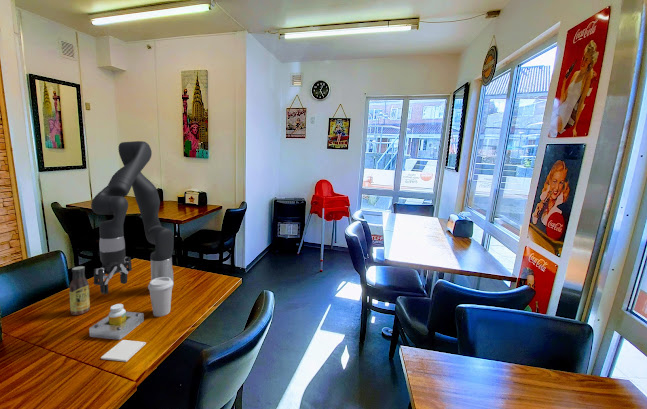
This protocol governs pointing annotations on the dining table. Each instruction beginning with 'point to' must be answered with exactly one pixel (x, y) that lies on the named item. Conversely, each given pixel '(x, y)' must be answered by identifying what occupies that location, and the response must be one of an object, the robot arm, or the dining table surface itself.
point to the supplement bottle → (117, 315)
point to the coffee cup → (161, 295)
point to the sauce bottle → (79, 292)
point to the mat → (123, 350)
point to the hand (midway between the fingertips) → (114, 288)
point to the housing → (116, 327)
